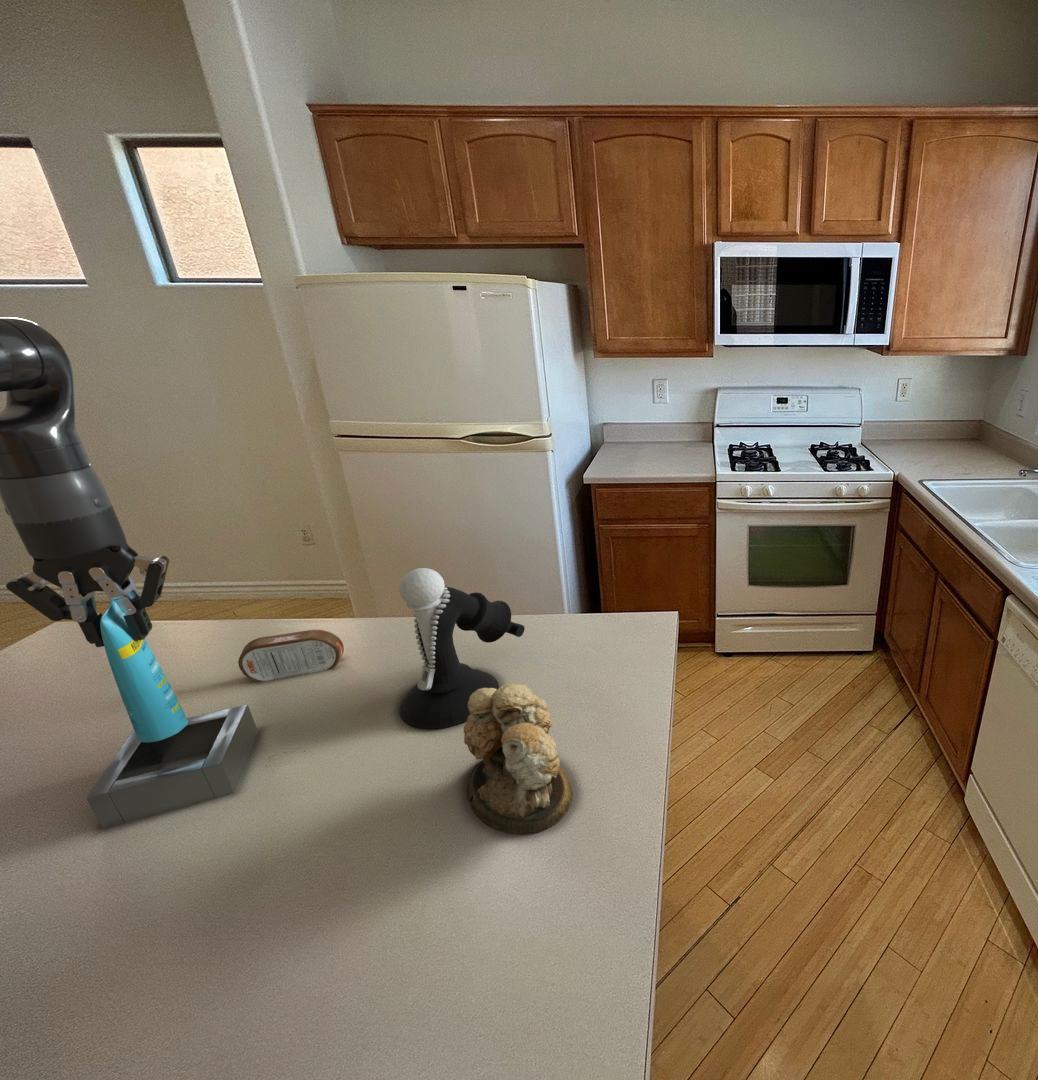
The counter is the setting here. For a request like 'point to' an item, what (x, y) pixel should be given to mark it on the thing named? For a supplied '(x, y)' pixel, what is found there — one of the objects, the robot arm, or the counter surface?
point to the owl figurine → (514, 761)
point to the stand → (175, 768)
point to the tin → (290, 654)
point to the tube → (140, 681)
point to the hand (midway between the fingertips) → (123, 639)
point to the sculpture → (448, 648)
